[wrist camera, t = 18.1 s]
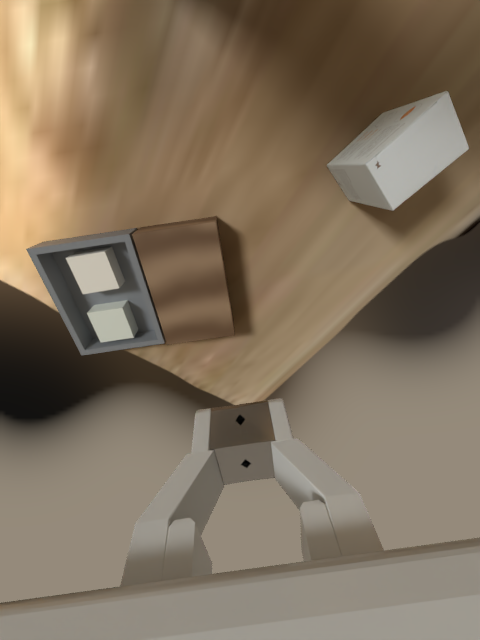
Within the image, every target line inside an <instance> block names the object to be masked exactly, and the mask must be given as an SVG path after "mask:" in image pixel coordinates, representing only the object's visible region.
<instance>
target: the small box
mask: <svg viewBox="0 0 480 640" xmlns="http://www.w3.org/2000/svg"><path fill="white" fill-rule="evenodd" d="M468 150H469V147H468V144H467V141H466V138H465V135H464V133H463V130H462V127H461V125H460V122H459V119H458V117H457V114H456V111H455V109H454V106H453V103H452V101H451V98H450V95H449V92H448V91H445V92H442V93H439V94H436V95H433V96H430V97H427V98H424V99H421V100H418V101H416V102H413V103H410V104H407V105H404V106H401V107H398V108H395V109H392V110H389V111H387V112H383V113H382V114H381V115H380V116H379V117H378V118H377V119H375V120H374V121H373V122H372V123H371V124H370V125H369V126H368V127H367V128H366V129H365V130H364V131H363V132H362V133H361V134H359V135H358V136H357V137H356V138H355V139H354V140H353V141H352V142H351V143H350V144H349V145H348V146H347V147H346V148H345V149H343V150H342V151H341V152H340V153H339V154H338V155H337V156H336V157H335V158H334V159H333V160H332V161H331V162H330V163H328V164H327V167H328V169H329V170H330V172H331V173H332V175H333V176H334V178H335V180H336V181H337V183H338V184H339V186H340V187H341V189H342V190H343V192H344V194H345V195H346V197H347V198H348V200H349V201H353V202H357V203H361V204H365V205H370V206H374V207H378V208H382V209H387V210H392V211H394V210H395V209H396V208H397V207H398V206H400V205H401V204H402V203H403V202H405V201H406V200H407V199H408V198H410V197H411V196H412V195H413V194H415V193H416V192H417V191H418V190H419V189H421V188H422V187H423V186H424V185H425V184H427V183H428V182H429V181H430V180H432V179H433V178H434V177H435V176H437V175H438V174H439V173H440V172H442V171H443V170H444V169H445V168H446V167H448V166H449V165H450V164H451V163H453V162H454V161H455V160H456V159H458V158H459V157H460V156H461V155H462V154H464V153H465V152H466V151H468Z"/></svg>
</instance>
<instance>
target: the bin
mask: <svg viewBox="0 0 480 640" xmlns="http://www.w3.org/2000/svg"><path fill="white" fill-rule="evenodd" d="M135 231H137V228H134V229H127V230H120V231H114V232H107V233H100V234H93V235H87V236H80V237H73V238H66V239H60V240H53V241H46V242H42V243H39V244H37V245H35V246H32V247H30V248H28V249H26V250H27V251H28V253H29V255H30V257H31V259H32V261H33V263H34V265H35V267H36V269H37V271H38V273H39V274H40V276H41V278H42V280H43V282H44V284H45V286H46V288H47V290H48V292H49V294H50V296H51V297H52V299H53V301H54V303H55V305H56V307H57V309H58V311H59V313H60V315H61V317H62V318H63V321H64V322H65V324H66V326H67V328H68V330H69V332H70V334H71V336H72V338H73V340H74V342H75V343H76V345H77V347H78V349H79V351H80V353H81V355H87V354H94V353H101V352H108V351H115V350H122V349H129V348H136V347H143V346H150V345H157V344H164V343H165V340H166V339H165V336H164V333H163V330H162V327H161V323H160V320H159V317H158V314H157V311H156V308H155V305H154V302H153V298H152V295H151V292H150V289H149V286H148V283H147V280H146V276H145V273H144V270H143V267H142V264H141V261H140V258H139V255H138V251H137V248H136V245H135V242H134V239H133V236H132V234H133V233H134V232H135ZM111 246H112V248H113V251H114V254H115V256H116V259H117V261H118V264H119V267H120V269H121V272H122V274H123V277H124V280H125V282H124V283H123V285H122V286H121V287H120V288H118V289H112V290H106V291H100V292H94V293H88V294H82V291H81V289H80V287H79V285H78V283H77V281H76V279H75V277H74V275H73V273H72V271H71V268H70V266H69V264H68V262H67V260H66V258H67V257H68V256H70V255H72V254H73V253H75V252H81V251H87V250H93V249H99V248H105V247H111ZM125 300H128V303H129V305H130V308H131V311H132V313H133V316H134V319H135V321H136V324H137V327H138V331H137V333H136V335H135V337H134V338H128V339H122V340H115V341H108V342H100V340H99V338H98V336H97V334H96V332H95V330H94V327H93V325H92V323H91V321H90V319H89V317H88V315H87V312H88V311H89V310H90V309H91V308H92V307H93V306H94V305H98V304H104V303H111V302H118V301H125Z"/></svg>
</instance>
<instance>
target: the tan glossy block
mask: <svg viewBox="0 0 480 640" xmlns="http://www.w3.org/2000/svg"><path fill="white" fill-rule="evenodd" d="M132 236H133V239H134V242H135V245H136V248H137V251H138V255H139V258H140V261H141V264H142V267H143V270H144V273H145V276H146V280H147V283H148V286H149V289H150V292H151V295H152V298H153V302H154V305H155V308H156V311H157V314H158V317H159V320H160V323H161V327H162V330H163V333H164V336H165V339H166V342H167V345H170V344H177V343H184V342H191V341H198V340H205V339H212V338H219V337H225V336H232V335H235V331H234V321H233V314H232V308H231V302H230V296H229V290H228V284H227V278H226V272H225V266H224V260H223V254H222V247H221V241H220V235H219V229H218V223H217V217H216V216H215V217H208V218H201V219H194V220H188V221H181V222H174V223H168V224H161V225H154V226H147V227H141V228H139V229H138V230H137V231H135V232H134V233H133V234H132Z"/></svg>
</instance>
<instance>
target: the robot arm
mask: <svg viewBox="0 0 480 640" xmlns="http://www.w3.org/2000/svg"><path fill="white" fill-rule="evenodd" d="M268 478H275V479H276V481H277V482H278V483H279V485H280V486H281V487H282V488H283V490H284V491H285V492H286V494H287V495H288V496H289V497H290V499H291V500H292V501H293V502H294V504H295V505H296V506H297V508H298V509H299V510H300V519H301V545H302V554H303V559H304V562H296V563H290V564H282V565H275V566H267V567H260V568H252V569H245V570H238V571H230V572H223V573H216V574H212V562H211V560H210V557H209V555H208V552H207V550H206V547H205V545H204V543H203V540H202V538H201V534H202V532H203V530H204V528H205V525H206V524H207V522H208V520H209V517H210V515H211V513H212V511H213V509H214V507H215V505H216V503H217V501H218V498H219V496H220V494H221V492H222V490H223V488H224V485H227V484H232V483H238V482H244V481H249V480H250V481H251V480H260V479H268ZM0 640H480V538H474V539H466V540H458V541H451V542H444V543H436V544H429V545H421V546H415V547H407V548H399V549H392V550H386V551H384V550H383V548H382V545H381V542H380V540H379V538H378V535H377V533H376V531H375V528H374V526H373V524H372V521H371V519H370V517H369V514H368V512H367V509H366V507H365V505H364V502H363V500H362V498H361V495H360V493H359V492H358V491H357V490H355V489H354V488H353V487H352V486H351V485H350V484H349V483H348V482H347V481H345V480H344V479H343V478H342V477H341V476H340V475H339V474H337V472H335V471H334V470H333V469H332V468H331V467H330V466H329V465H328V464H326V463H325V462H324V461H323V460H322V459H321V458H320V457H318V455H316V454H315V453H314V452H313V451H312V450H311V449H310V448H309V447H307V446H306V445H305V444H304V443H303V442H302V441H301V440H300V439H298V438H293V435H292V431H291V427H290V424H289V420H288V416H287V413H286V409H285V405H284V401H283V399H282V398H280V399H273V400H268V401H267V400H266V401H259V402H253V403H246V404H240V405H234V406H226V407H218V408H211V409H203V410H197V412H196V414H195V424H194V433H193V443H192V453H188V454H186V456H185V457H184V458H183V460H182V461H181V463H180V464H179V466H178V467H177V468H176V469H175V471H174V472H173V473H172V475H171V476H170V478H169V479H168V480H167V481H166V483H165V484H164V485H163V487H162V488H161V490H160V491H159V492H158V494H157V495H156V496H155V498H154V499H153V501H152V502H151V503H150V504H149V506H148V507H147V509H146V510H145V511H144V513H143V514H142V515H141V517H140V518H139V519H138V521H137V522H136V523H135V527H134V531H133V536H132V539H131V544H130V548H129V552H128V556H127V560H126V564H125V569H124V573H123V577H122V581H121V585H120V587H113V588H106V589H98V590H91V591H84V592H77V593H69V594H62V595H55V596H47V597H40V598H33V599H25V600H18V601H11V602H3V603H0Z"/></svg>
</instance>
